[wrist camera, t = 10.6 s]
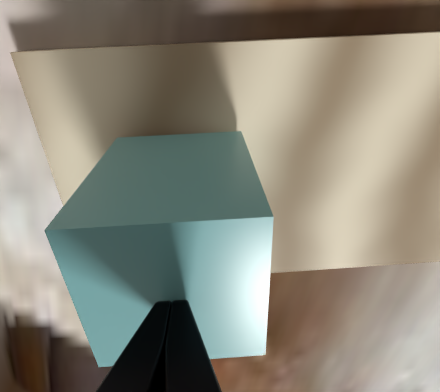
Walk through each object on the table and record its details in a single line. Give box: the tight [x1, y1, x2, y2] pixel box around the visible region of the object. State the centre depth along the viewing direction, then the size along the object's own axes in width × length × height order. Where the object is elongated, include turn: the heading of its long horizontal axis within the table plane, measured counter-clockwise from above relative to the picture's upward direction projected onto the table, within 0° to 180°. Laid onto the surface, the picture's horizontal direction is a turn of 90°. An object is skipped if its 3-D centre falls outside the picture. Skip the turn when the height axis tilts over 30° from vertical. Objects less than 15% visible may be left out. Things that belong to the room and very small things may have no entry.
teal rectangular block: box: [45, 131, 274, 367], centre depth 11 cm, size 5×5×7 cm
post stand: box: [11, 31, 440, 273], centre depth 12 cm, size 24×12×8 cm, turn 92°
